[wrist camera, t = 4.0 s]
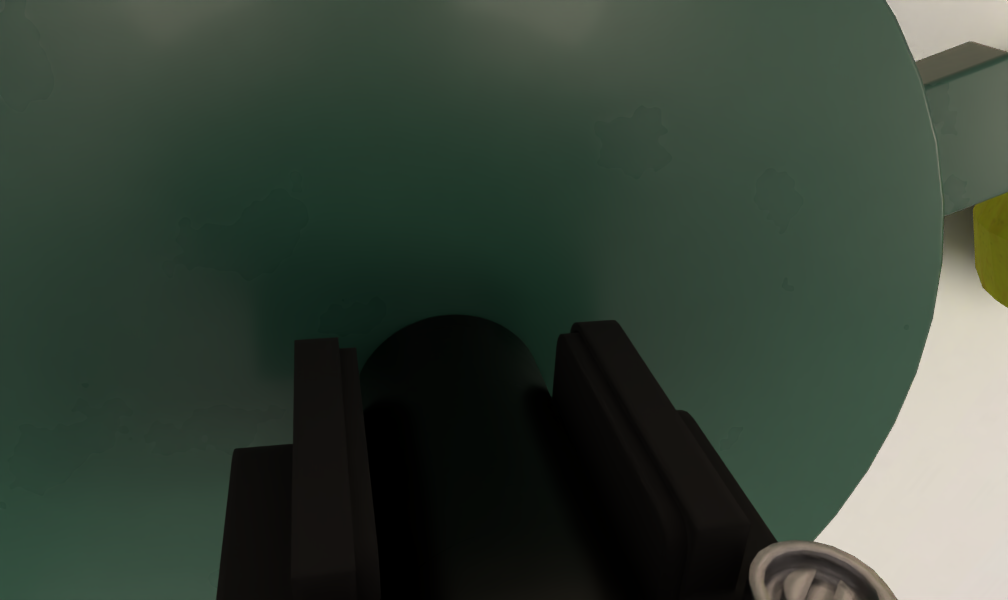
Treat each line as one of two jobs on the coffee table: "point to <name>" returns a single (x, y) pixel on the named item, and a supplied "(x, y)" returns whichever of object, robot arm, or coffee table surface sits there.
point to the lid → (444, 266)
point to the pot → (969, 121)
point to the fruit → (992, 246)
